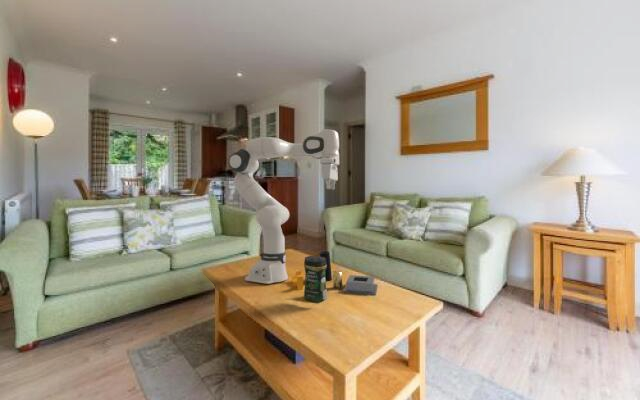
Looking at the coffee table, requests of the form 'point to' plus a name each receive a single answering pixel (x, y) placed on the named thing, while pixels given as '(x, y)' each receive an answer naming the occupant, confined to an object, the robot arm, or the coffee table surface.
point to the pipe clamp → (298, 280)
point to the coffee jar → (315, 278)
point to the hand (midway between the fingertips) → (330, 189)
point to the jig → (360, 285)
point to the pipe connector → (328, 268)
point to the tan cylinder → (337, 280)
